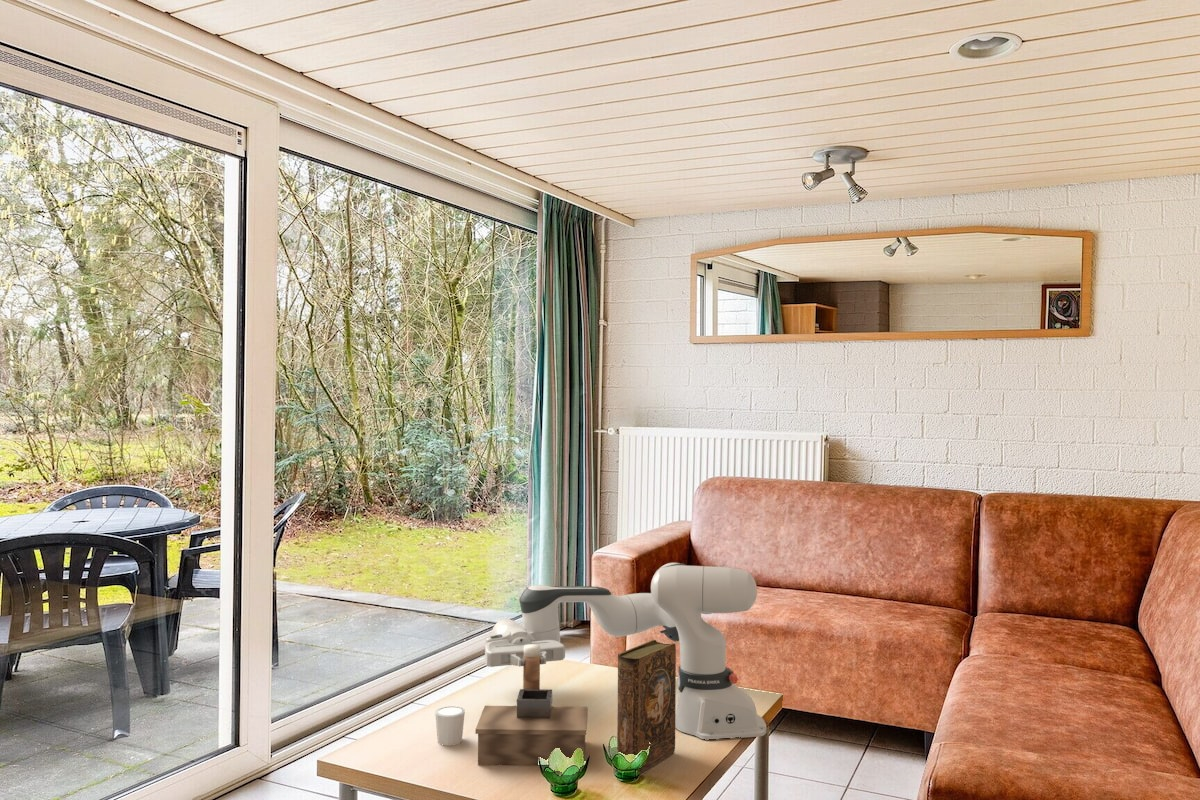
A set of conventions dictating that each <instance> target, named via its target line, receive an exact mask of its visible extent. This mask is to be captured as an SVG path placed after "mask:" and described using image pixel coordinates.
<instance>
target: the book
mask: <svg viewBox="0 0 1200 800" xmlns="http://www.w3.org/2000/svg"><path fill="white" fill-rule="evenodd" d="M676 657H677V650H676V643H663V642H658V641H657V639H652V640H649V641H647V642H644V643H641V644H640V645H637V646H634V647H632V648H630V649H627V650H624V651H622V652H620V653H618V654H617V715H616V716H617V721H616V722H617V733H616V734H617V735H616V738H617V739H616V742H617V743H616V745H617V747H616V749H617V750H618V752H621V753H623V754H625V755H628V754H634V755H637V754H638V753H639V752H640V751H641V750H647V749H648V747H649V746H650V749H649V755H648V758H647V760H646V762H645V763H644V764H643V765H642V767H641V768H640V771H639V772H640V776H642V775H644V774H645V773H646V772H648V771H650V770H651V769H653V768H655V767H656V766H658V765H659V764H661V763H662V762H664V761H666V760H667V759H669V758H670V757H672V755H674V753H675V751H676V728H675V715H676V703H677V702H676V701H677V700H676V694H677V693H676V691H677V690H676V689H677V688H676V686H677V685H676V683H677V682H676V680H677V679H676V676H677V675H676V674H677V672H676V665H677V658H676ZM649 742H650V743H651V744H649ZM617 750H616V751H617Z"/></svg>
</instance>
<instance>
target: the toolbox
mask: <svg viewBox="0 0 1200 800" xmlns="http://www.w3.org/2000/svg"><path fill="white" fill-rule="evenodd" d="M587 725H588V706H566V705H565V706H557V705H556V706H555V705H553V689H547V688H546V689H545V688H543V689H541V688H540V689H523V688H520V689H519V692H518V695H517V699H516V705H484V707H483V709H482V711H481V714H480V716H479V719H478V722H477V725H476V727H475V735H477V766H515V767H516V766H523V767H524V766H526V767H527V766H529V767H535V766H536V767H537V766H538V757H541V758H543V759H545V760H547V759H548V758H549V756H550V754H551V752H552V751H553V750H554V749H555V748H560V750H561V752H562V753H563V754H564V755H565V756H566V757H569V758H571V757H572V755H573V753H574V751H575V750H576V749H577V748H581V749H582V751H583V754H584V755H585V749H586V748H585V747H586V736H587Z"/></svg>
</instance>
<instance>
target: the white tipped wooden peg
mask: <svg viewBox="0 0 1200 800" xmlns="http://www.w3.org/2000/svg"><path fill="white" fill-rule="evenodd" d="M524 659H525V666H522V667H523V670H522V671H523V674H522V677H523V678H522V679H523V680H522V681H523V683H522V685H523V686H522V689H541V688H540V687H541V677H540V676H541V673H540V672H541V664H540V646H539V645H535V644H530V645H525V646H524Z"/></svg>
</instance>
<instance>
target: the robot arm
mask: <svg viewBox="0 0 1200 800" xmlns="http://www.w3.org/2000/svg"><path fill="white" fill-rule="evenodd" d="M757 587H758V586H757V582H756V580H755V578H754V577H753V575H752V573H750V572H749V571H747V570H743V569H739V568H735V567H729V566H712V565H711V566H707V565H704V566H703V565H687V564H685V563H683V562H682V563H680V562H668V563H666V564H664V565H662V566H660V567H659V568H657V569H656V571H655V572H654V575H653V576H652V579H651V582H650V592H639V593H637V592H636V593H630V594H629V593H628V594H623V595H616V594H614V593H612V592H611V591H610V589H608V588H606V587H601V586H589V585H588V586H586V585H585V586H584V585H583V586H582V585H581V586H579V585H578V586H576V585H575V586H574V585H569V586H568V585H567V586H561V585H558V586H557V585H554V586H553V585H545V584H534V585H531V586H527V587H526V588H525V589H524V590H523V592H522V594H521V595H520V597H519V599H518V600H519V606H520V611H521V615H522V616H521V617H522V624H520V623H518V622H517V621H515V620H513V619H510V618H502V619H500V620H498V621H497V622H496V623H495V624H494V626H493V627H492V631H491V634H490V636H488V637H486V638H485V643H484V644H485V645H484V664H485V666H486V667H489V668H495V667H504V666H506V667H507V666H514V667H516V666H517V667H523V666H525V659H524V646H525V645H530V644H535V645H539V646H540V665H546V664H547V662H556V661H563V660H565V658H566V645H564V644H563V643H561V632H560V629H561V628H560V623H559V614H558V613H559V612H558V606H559V604H560V603H586V604H587V606H589V608H590V609H591V611H592V613H593V615H594V617H595V619H596V621H597V623H598V625H599V626H600V627H601V629H602V630H603V631H604V632H605V633H607V634H608V635H609V636H612V637H626V636H631V635H635V634H639V633H643V632H646V631H648V630H650V629H653V628H655V627H662V628H664V630H659V633H660V634H664V635H665V636H666V638H667V639H669V640H671V641H672V642H678V643H679V653H680V654H679V655H680V656H679V657H680V658H679V659H680V664H679V666H678V671H677V688H678V700H677V707H676V710H675V729H677V731H680V732H681V733H684V734H688V735H691V736H696V737H697V738H699V739H701V740H703V739H705V740H704V741H710V740H709V739H716V740H720V739H719V738H730V739H732V738H731V737H734V738H733V739H736V738H735V737H739V738H738V739H743V738H758V737H763V736H765V735H766V733H767V730H768V729H767V724H766V721H765V719H763V717H762V716H760V715H759V714H758V712H757V706H756V705H755V702H754V700H753V699H752V697H751V696H750V695H749V694H748V693H747V692H745V691H744V690H743V689H741V688H740V687H739V686H737V683H738V682H739V678H738V676H737V674H736V673H734V671H733V670H732V669H731V668H730V667H729V666H728V667H727V666H726V664H727V663H726V662H727V660H726V657H727V656H726V655H727V654H726V653H727V651H726V650H727V642H726V638H725V635H724V633H723V632H722V631H720V630H719V628H717V627H716V626H714V625H711V624H710V623H708V622H706V621H705V620H704V619H703V618H702V615H712V614H732V613H741V612H747V611H749V610H750V609H751V608H752V607H753V605H754V604H755V602H756V600H757V596H758V588H757ZM740 737H741V738H740Z"/></svg>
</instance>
